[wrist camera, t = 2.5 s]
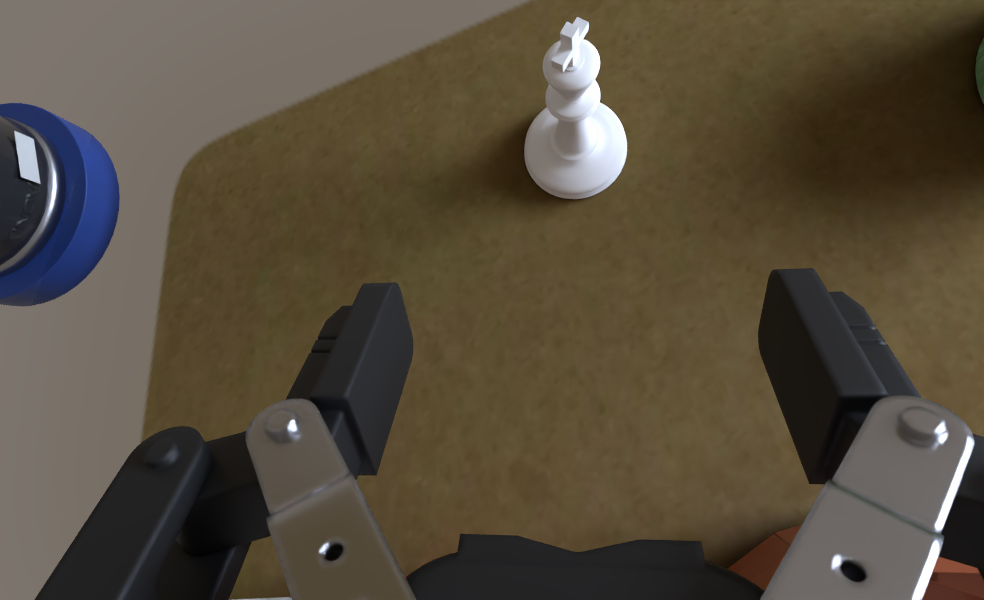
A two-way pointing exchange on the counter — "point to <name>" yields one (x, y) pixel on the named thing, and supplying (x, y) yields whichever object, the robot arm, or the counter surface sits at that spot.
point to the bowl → (949, 594)
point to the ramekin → (980, 70)
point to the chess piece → (574, 123)
